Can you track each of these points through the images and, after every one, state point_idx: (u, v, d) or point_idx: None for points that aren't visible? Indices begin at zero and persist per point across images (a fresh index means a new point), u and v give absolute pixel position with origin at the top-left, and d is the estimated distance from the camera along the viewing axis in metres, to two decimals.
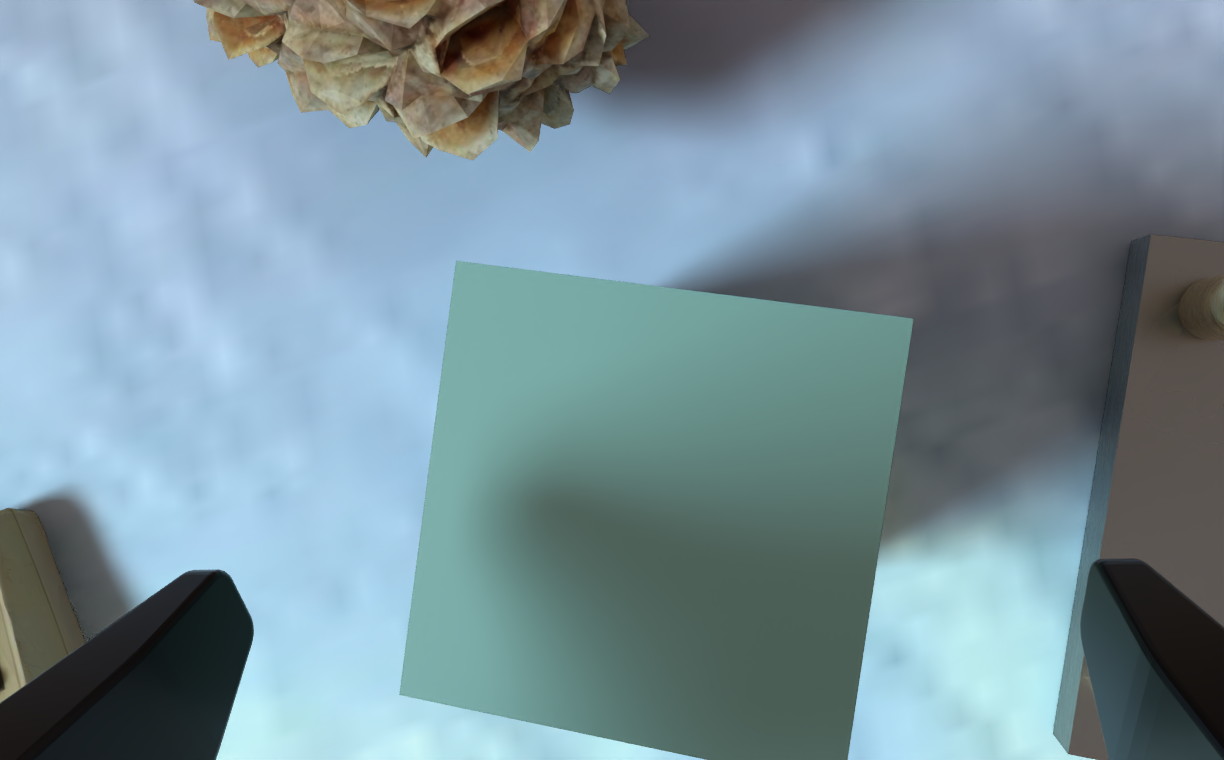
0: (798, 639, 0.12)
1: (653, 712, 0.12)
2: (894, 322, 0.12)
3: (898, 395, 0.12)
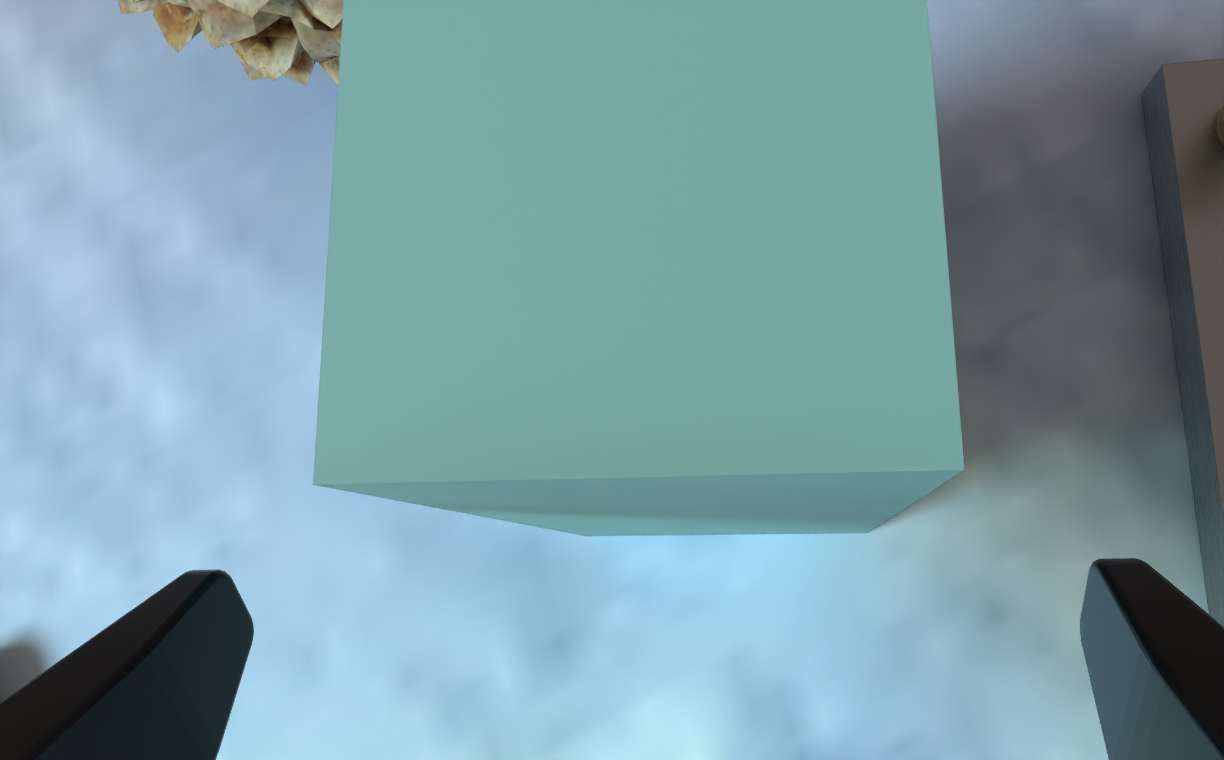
0: (854, 275, 0.08)
1: (669, 425, 0.09)
2: None
3: None
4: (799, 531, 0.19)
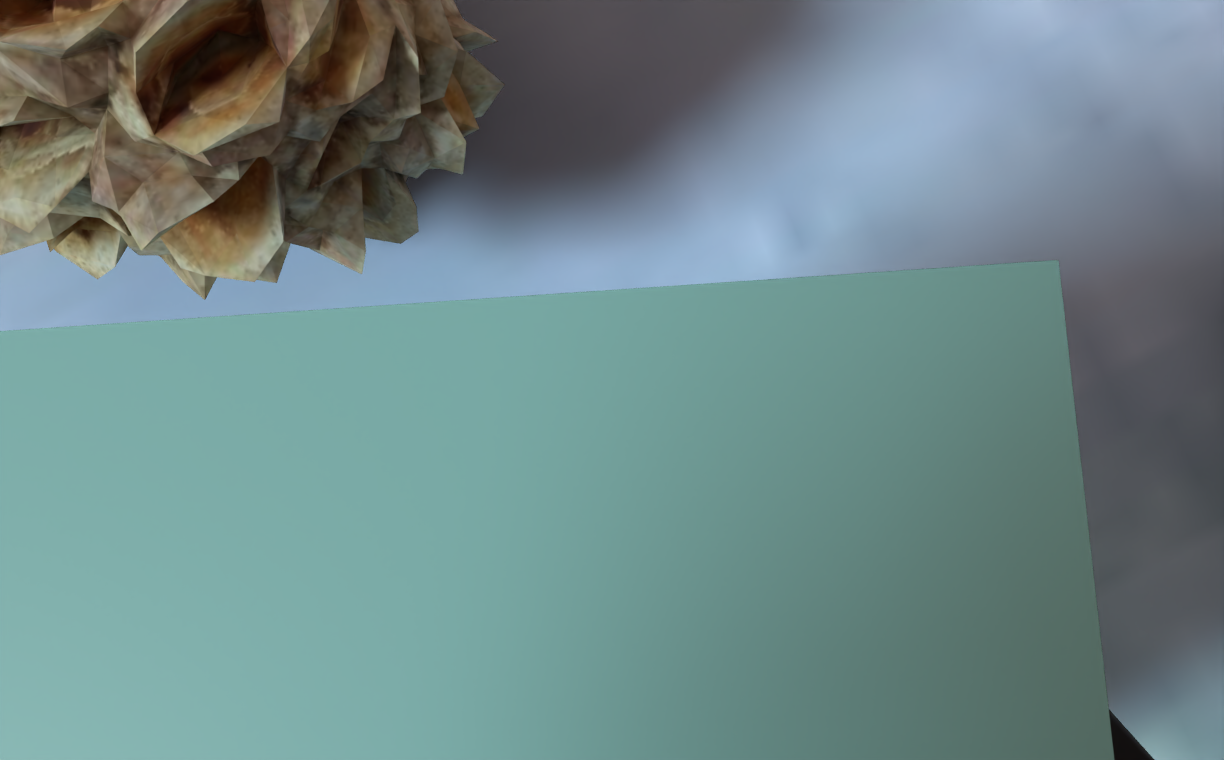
0: None
1: None
2: (1008, 280, 0.04)
3: (1070, 470, 0.04)
4: None
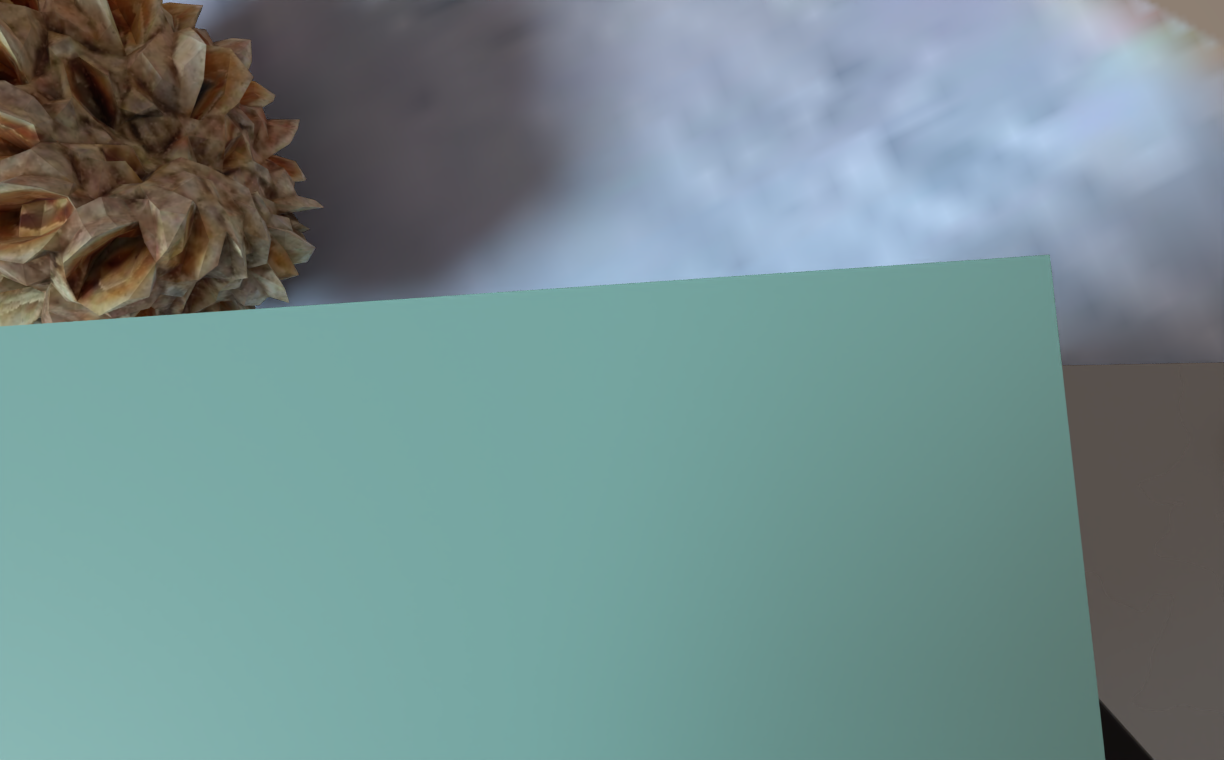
0: None
1: None
2: (1000, 275, 0.04)
3: (1062, 463, 0.04)
4: None
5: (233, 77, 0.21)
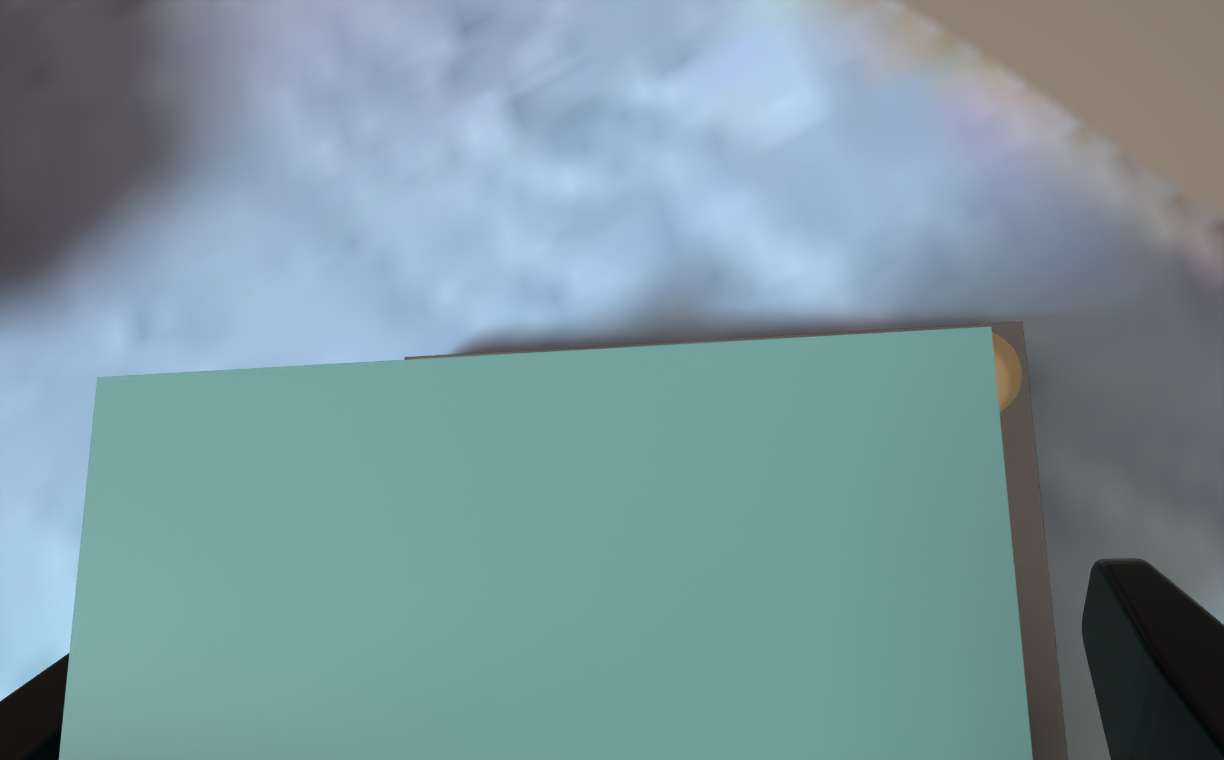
0: None
1: None
2: (953, 342, 0.06)
3: (999, 492, 0.05)
4: None
5: None
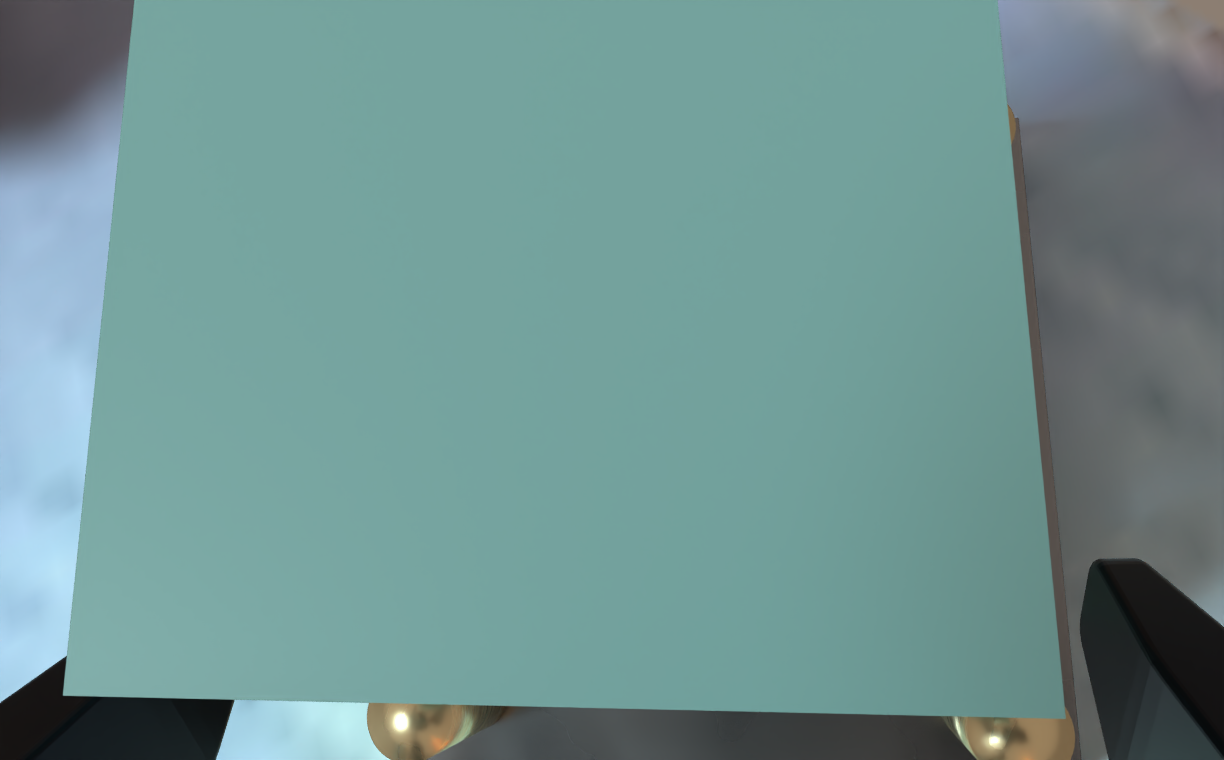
0: (884, 390, 0.05)
1: (593, 622, 0.05)
2: None
3: None
4: None
5: None
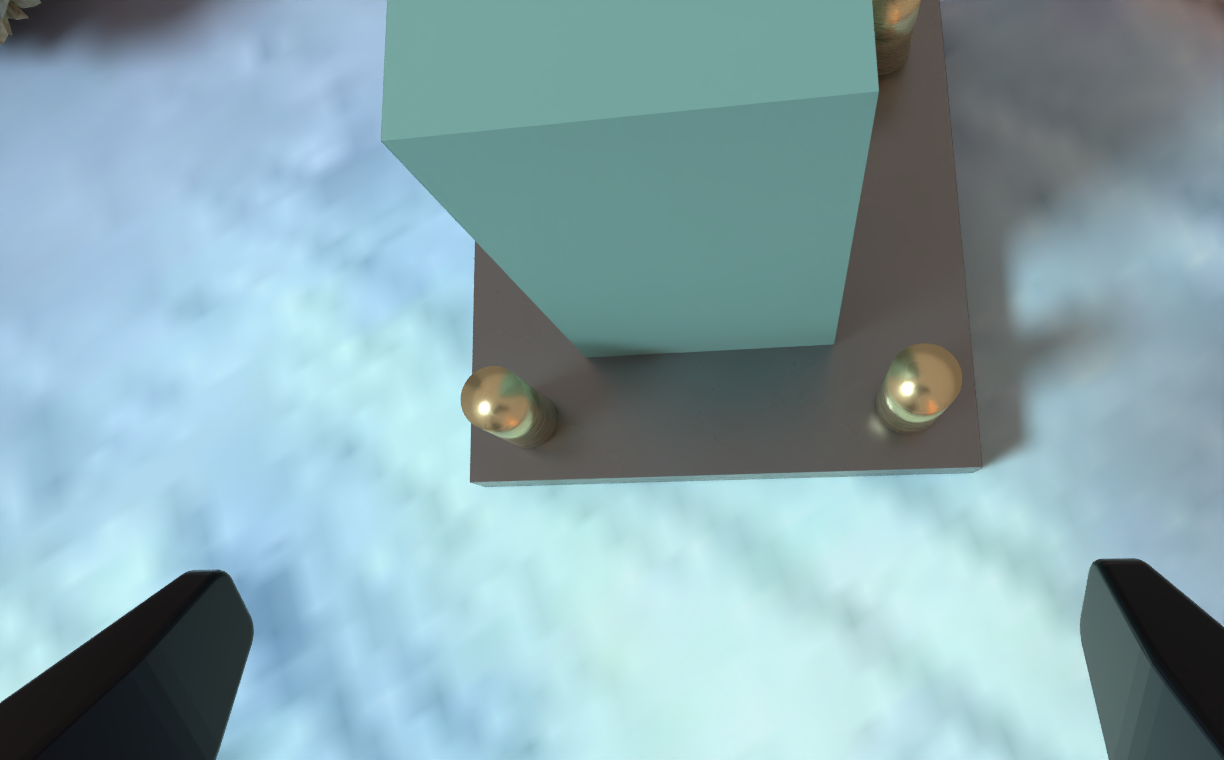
0: None
1: (657, 77, 0.11)
2: None
3: None
4: (773, 337, 0.21)
5: None
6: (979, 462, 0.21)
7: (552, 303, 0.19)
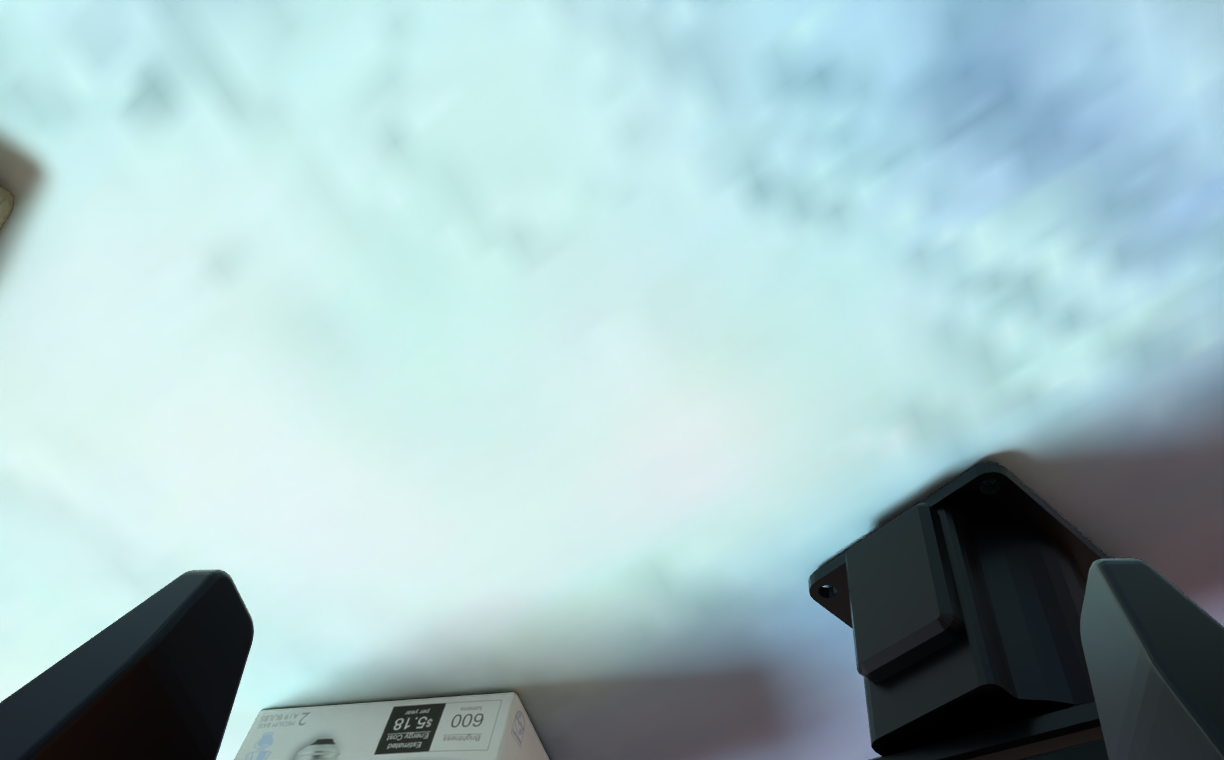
0: None
1: None
2: None
3: None
4: None
5: None
6: None
7: None
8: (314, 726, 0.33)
